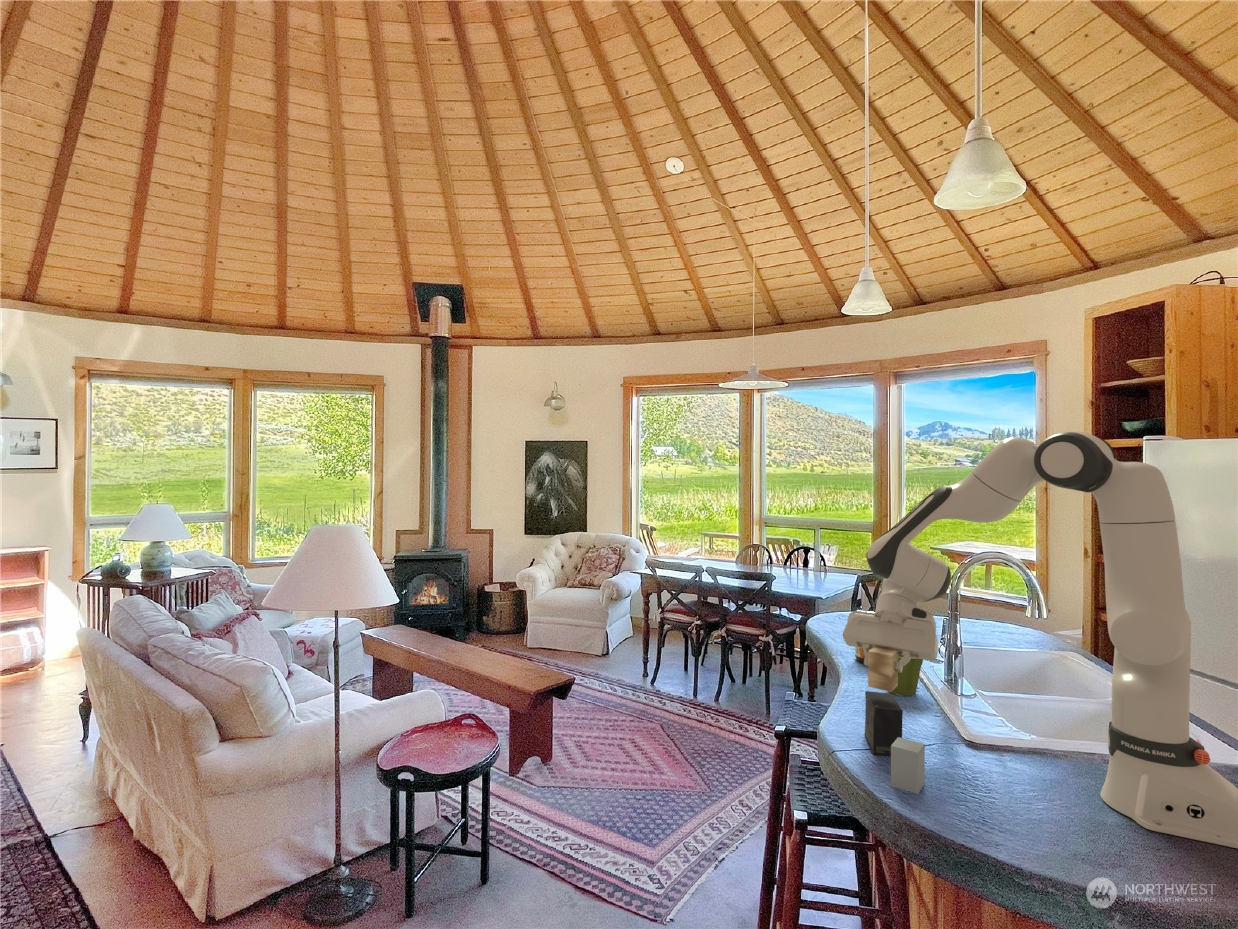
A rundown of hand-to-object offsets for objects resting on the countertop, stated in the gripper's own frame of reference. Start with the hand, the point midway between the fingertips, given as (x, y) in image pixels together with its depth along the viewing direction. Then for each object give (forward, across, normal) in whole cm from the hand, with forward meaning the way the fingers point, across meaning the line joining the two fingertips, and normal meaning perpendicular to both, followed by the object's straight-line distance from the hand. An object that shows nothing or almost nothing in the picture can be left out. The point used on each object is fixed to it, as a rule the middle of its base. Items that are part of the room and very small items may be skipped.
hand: (882, 667), depth 142 cm
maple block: (+3, 0, +4) cm, 4 cm away
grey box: (+23, +9, +2) cm, 25 cm away
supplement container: (-31, -21, +56) cm, 67 cm away
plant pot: (-14, -6, +40) cm, 43 cm away
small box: (+12, 0, +13) cm, 18 cm away
